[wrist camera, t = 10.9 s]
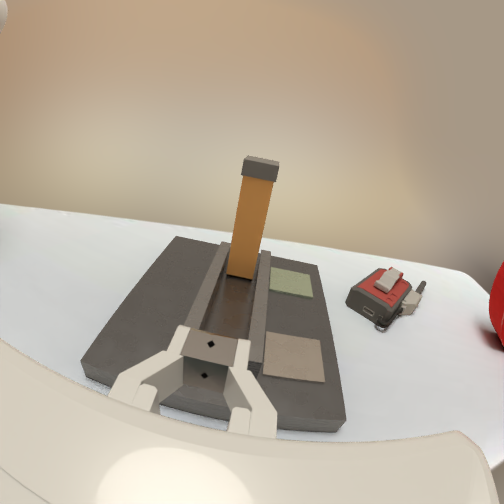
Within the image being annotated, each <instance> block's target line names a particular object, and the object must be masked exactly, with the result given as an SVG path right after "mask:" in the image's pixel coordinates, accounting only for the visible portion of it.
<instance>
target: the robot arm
mask: <svg viewBox="0 0 504 504" xmlns="http://www.w3.org/2000/svg"><path fill="white" fill-rule="evenodd" d="M6 18H7V4H6V2H5V0H0V32H1V31H2V29H3V27H4V25H5V22H6ZM250 345H251V341H250V340H244V339H238V338H234V337H229V336H224V335H219V334H214V333H210V332H206V331H202V330H198V329H195V328H190V327H186V326H183V325H179V326H178V327H177V329H176V331H175V334H174V336H173V338H172V340H171V342H170V345H169V347H168V349H167V351H161V352H159V353H157V354H156V355H154V356H152V357H150V358H148V359H146V360H144V361H143V362H141V363H139V364H137V365H135V366H133V367H131V368H129V369H127V370H125V371H124V372H122V373H120V374H119V375H118V377H117V379H116V381H115V383H114V385H113V386H112V388H111V390H110V392H109V394H108V396H106V395H104V394H101V393H99V392H97V391H94V390H92V389H90V388H88V387H85V386H83V385H81V384H79V383H77V382H75V381H73V380H71V379H69V378H67V377H65V376H63V375H61V374H59V373H57V372H55V371H53V370H51V369H49V368H48V367H46V366H44V365H42V364H40V363H39V362H37V361H35V360H34V359H32V358H30V357H29V356H27V355H25V354H24V353H22V352H20V351H19V350H17V349H16V348H14V347H13V346H11V345H10V344H8V343H7V342H5V341H4V340H2V339H1V338H0V504H499V499H498V495H497V491H496V487H495V484H494V480H493V477H492V474H491V471H490V468H489V465H488V462H487V460H486V458H485V455H484V453H483V452H482V450H481V448H480V447H479V446H478V445H477V444H475V443H474V442H473V441H472V440H471V439H469V438H468V437H467V436H466V435H465V434H463V433H462V432H460V431H449V432H444V433H439V434H434V435H428V436H421V437H414V438H406V439H397V440H385V441H370V442H312V441H296V440H284V439H276V431H277V411H276V410H275V408H274V407H273V405H272V404H271V402H270V401H269V399H268V398H267V396H266V394H265V393H264V391H263V390H262V388H261V387H260V385H259V383H258V382H257V380H256V379H255V377H254V376H253V374H252V372H251V371H249V370H247V367H248V360H249V353H250ZM183 384H186V385H190V386H194V387H199V388H203V389H207V390H211V391H215V392H219V393H223V395H224V398H225V400H226V402H227V405H228V407H229V409H230V411H231V416H230V419H229V423H228V426H227V429H226V431H222V430H217V429H213V428H208V427H204V426H199V425H195V424H191V423H187V422H183V421H180V420H176V419H172V418H169V417H165V416H162V415H161V414H160V407H159V403H160V402H162V401H163V400H164V399H165V398H167V397H168V396H169V395H171V394H172V393H173V392H175V391H176V390H177V389H178V388H180V387H181V386H182V385H183Z"/></svg>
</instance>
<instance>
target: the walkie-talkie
mask: <svg viewBox="0 0 504 504" xmlns="http://www.w3.org/2000/svg"><path fill="white" fill-rule="evenodd" d="M402 276H403V273H402V272H400V271H398V270H396V269H394V268H392V267H391V268H389V270H386V269H381V268H378V269H377V270H375V271H374V272H373V273H371V274H370V275H368V276H367V277H366V278H364V279H363V280H361V282H359V283H358V284H356V285H355V286H353V287H351V290H350V292H349V294H348V297H347V299H346V305H347V306H348V307H349V308H351V309H353V310H354V311H356V312H357V313H359V314H361V315H362V316H364V317H365V318H367V319H369V320H370V321H372V322H373V323H375V324H376V325H378V326H380V327H381V328H386V327H388V326H389V324H390V323H391V322H392V321H393V319H394V318H395V317H396V316H397V315H411V314H412V312H413V311H414V309H415V308H416V307H417V306H418V304H419V302H420V300H421V298H422V295H420V294H421V292H422V291H423V289H424V287H425V286H426V282H425V281H422V282H421V283H420V285H419V286H418V288H417V290H416V291H414V290H412V286H411V284H410V283H409V282H408V281H406V280H404V279H402Z"/></svg>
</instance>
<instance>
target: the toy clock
mask: <svg viewBox="0 0 504 504" xmlns="http://www.w3.org/2000/svg"><path fill="white" fill-rule="evenodd" d="M489 315H490V319H491V322H492V325H493V327H494V329H495V331H496V332H497V334H498V336H499V338H500V340H501V342H502V344H503V346H504V262H503V263H502V265H501V267H500V269H499V271H498V273H497V275H496V278H495V280H494V283H493V286H492V290H491V294H490V300H489Z"/></svg>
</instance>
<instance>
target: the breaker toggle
mask: <svg viewBox="0 0 504 504" xmlns="http://www.w3.org/2000/svg"><path fill="white" fill-rule="evenodd" d="M278 170H279V162H277V161H273V160H268V159H263V158H257V157H252V156H247V157H246V158H245V159H244V162H243V168H242V173H241V175H243V180H242V186H241V191H240V197H239V202H238V208H237V213H236V219H235V225H234V230H233V236H232V242H231V248H230V254H229V260H228V266H227V272H226V274H229V275H234V276H239V277H244V278H248V279H253V275H254V270H255V266H256V261H257V257H258V252H259V248H260V243H261V238H262V234H263V229H264V224H265V220H266V215H267V210H268V206H269V201H270V197H271V192H272V188H273V183H274V182H276V179H277V174H278Z"/></svg>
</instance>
